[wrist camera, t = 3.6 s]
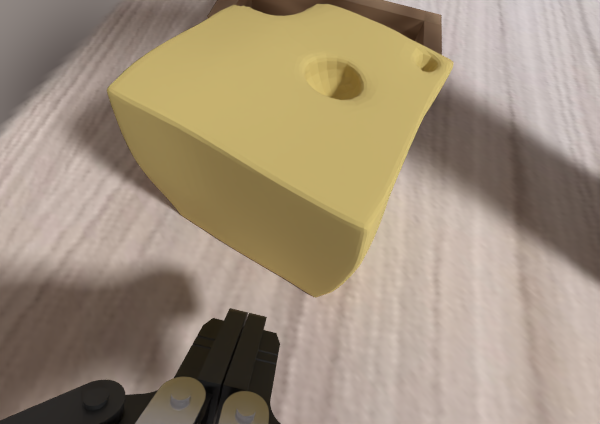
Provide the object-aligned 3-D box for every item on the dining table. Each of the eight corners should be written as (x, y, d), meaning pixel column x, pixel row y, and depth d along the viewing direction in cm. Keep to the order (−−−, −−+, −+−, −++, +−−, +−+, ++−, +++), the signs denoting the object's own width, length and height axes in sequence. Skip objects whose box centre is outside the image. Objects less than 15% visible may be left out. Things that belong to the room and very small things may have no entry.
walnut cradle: (425, 46, 30) (441, 15, 27) (423, 105, 26) (441, 75, 24) (240, -1, 30) (239, -37, 27) (212, 52, 26) (207, 16, 23)
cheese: (260, 114, 24) (263, -39, 15) (388, 182, 22) (475, 58, 14) (165, 218, 19) (88, 84, 10) (320, 313, 18) (384, 253, 9)
